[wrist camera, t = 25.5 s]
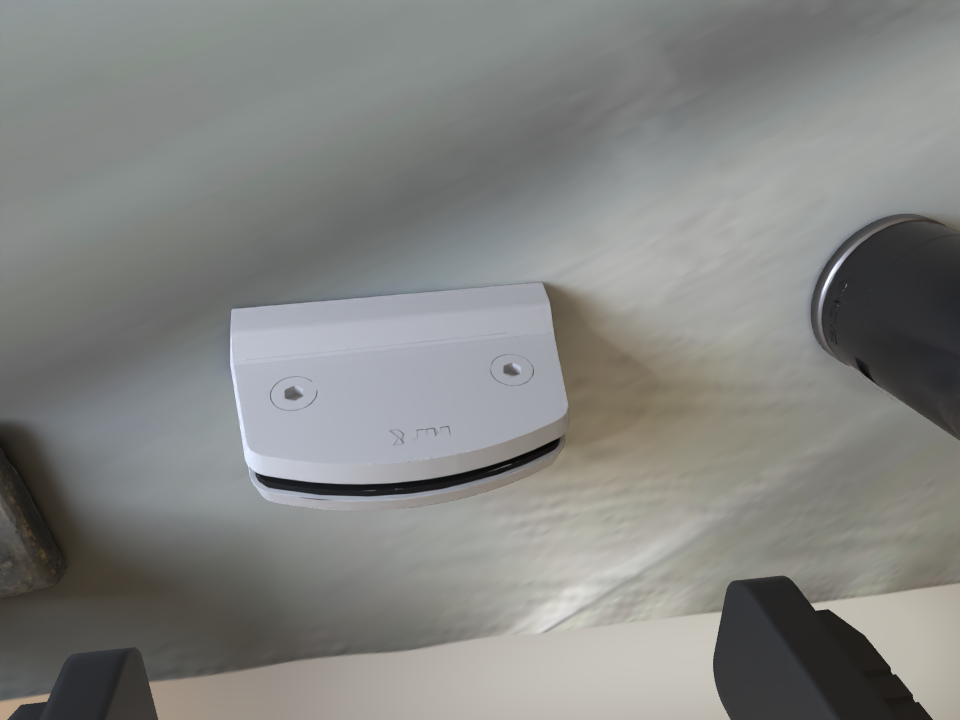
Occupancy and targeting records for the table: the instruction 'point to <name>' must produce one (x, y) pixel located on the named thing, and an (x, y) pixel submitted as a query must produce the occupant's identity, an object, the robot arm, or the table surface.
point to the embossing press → (24, 539)
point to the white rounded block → (398, 396)
